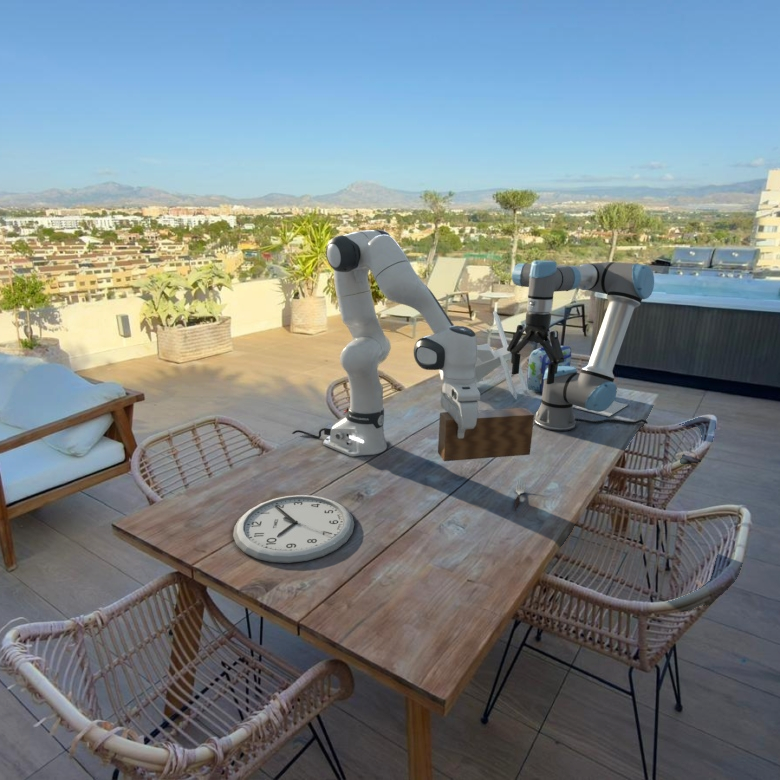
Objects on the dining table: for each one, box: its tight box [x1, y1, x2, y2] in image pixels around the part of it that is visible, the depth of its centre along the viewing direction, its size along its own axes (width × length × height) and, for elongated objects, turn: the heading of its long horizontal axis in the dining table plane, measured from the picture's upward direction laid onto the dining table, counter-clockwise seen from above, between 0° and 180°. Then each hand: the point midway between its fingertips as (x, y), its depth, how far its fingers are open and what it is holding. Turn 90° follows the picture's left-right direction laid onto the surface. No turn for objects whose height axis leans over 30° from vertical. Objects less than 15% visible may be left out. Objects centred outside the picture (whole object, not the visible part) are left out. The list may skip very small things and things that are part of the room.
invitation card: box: [573, 400, 629, 418], centre depth 226 cm, size 21×1×15 cm
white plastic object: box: [438, 310, 531, 400], centre depth 245 cm, size 37×45×31 cm
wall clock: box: [232, 494, 355, 564], centre depth 132 cm, size 30×2×30 cm
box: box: [437, 407, 535, 462], centre depth 150 cm, size 26×6×12 cm, turn 102°
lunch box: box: [526, 345, 572, 394], centre depth 247 cm, size 26×11×21 cm, turn 134°
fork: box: [514, 479, 527, 511], centre depth 147 cm, size 3×16×2 cm, turn 160°
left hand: (455, 432), depth 148 cm, fingers closed on box, 6 cm apart
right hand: (532, 378), depth 167 cm, fingers open, 13 cm apart
